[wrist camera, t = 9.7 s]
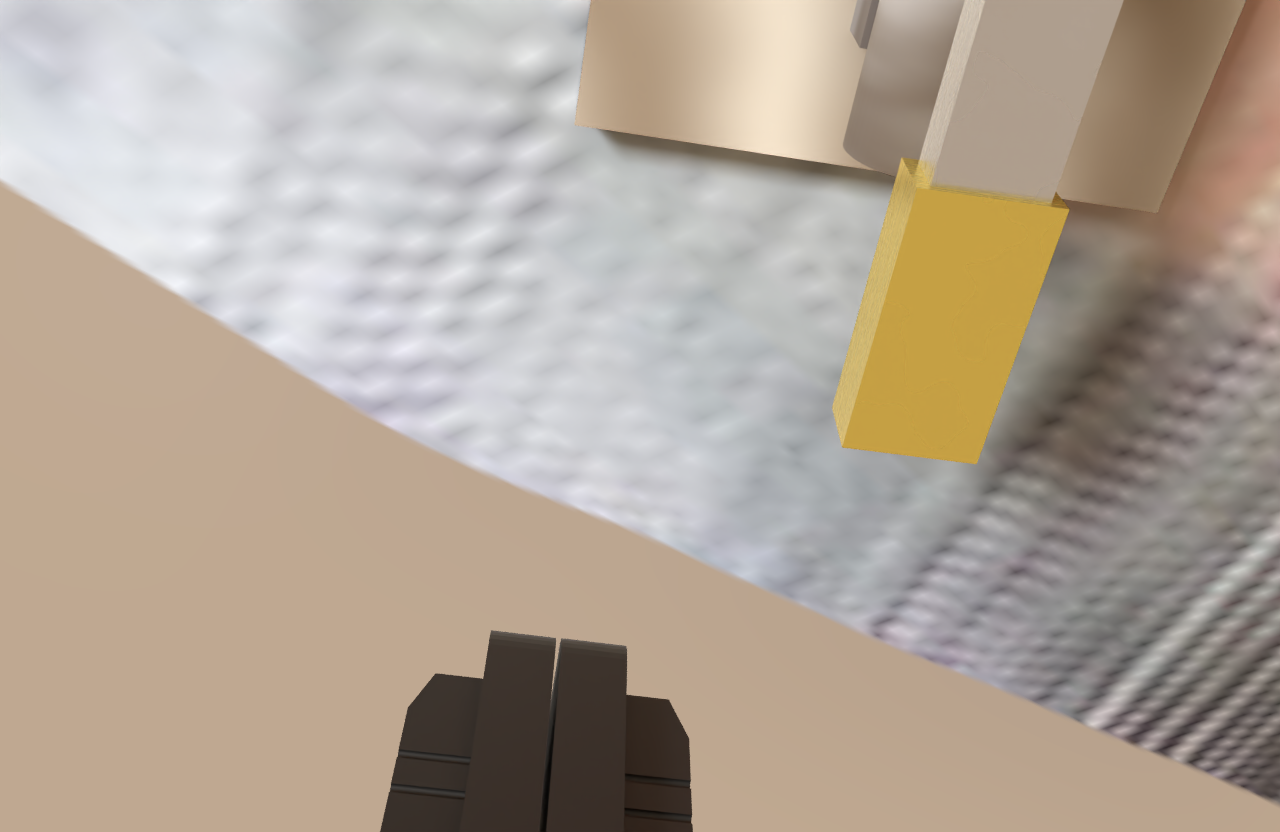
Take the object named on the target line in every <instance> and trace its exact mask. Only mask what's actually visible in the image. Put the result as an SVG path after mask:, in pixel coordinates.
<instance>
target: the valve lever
mask: <svg viewBox="0 0 1280 832" xmlns="http://www.w3.org/2000/svg"><path fill="white" fill-rule="evenodd" d="M1123 1H1124V0H965V1H964V5H963V8H962V12H961V15H960V19H959V22H958V26H957V29H956V33H955V36H954V40H953V43H952V47H951V50H950V54H949V57H948V61H947V64H946V68H945V71H944V75H943V78H942V82H941V85H940V89H939V92H938V96H937V99H936V103H935V106H934V110H933V113H932V117H931V120H930V124H929V127H928V131H927V134H926V138H925V141H924V145H923V148H922V152H921V155H920V159H919V160H917V159H910V158H903V157H902V158H901V162H900V165H899V169H898V173H897V176H896V180H895V183H894V187H893V191H892V194H891V198H890V201H889V205H888V209H887V212H886V216H885V219H884V223H883V227H882V230H881V234H880V237H879V241H878V245H877V248H876V252H875V255H874V259H873V263H872V266H871V270H870V273H869V277H868V281H867V284H866V288H865V291H864V295H863V298H862V302H861V306H860V309H859V313H858V316H857V320H856V324H855V327H854V331H853V334H852V338H851V342H850V345H849V349H848V352H847V356H846V360H845V363H844V367H843V370H842V374H841V378H840V381H839V385H838V388H837V392H836V396H835V399H834V403H833V406H832V409H833V413H834V417H835V421H836V425H837V429H838V433H839V437H840V441H841V445H842V447H843V448H851V449H859V450H867V451H875V452H883V453H891V454H899V455H907V456H915V457H923V458H931V459H939V460H947V461H955V462H963V463H972V464H977V462H978V459H979V456H980V453H981V451H982V448H983V445H984V442H985V440H986V437H987V434H988V431H989V429H990V426H991V423H992V420H993V418H994V415H995V412H996V410H997V407H998V404H999V401H1000V399H1001V396H1002V393H1003V390H1004V388H1005V385H1006V382H1007V379H1008V377H1009V374H1010V371H1011V368H1012V366H1013V363H1014V360H1015V358H1016V355H1017V352H1018V349H1019V347H1020V344H1021V341H1022V338H1023V336H1024V333H1025V330H1026V327H1027V325H1028V322H1029V319H1030V317H1031V314H1032V311H1033V308H1034V306H1035V303H1036V300H1037V297H1038V295H1039V292H1040V289H1041V286H1042V284H1043V281H1044V278H1045V275H1046V273H1047V270H1048V267H1049V265H1050V262H1051V259H1052V256H1053V254H1054V251H1055V248H1056V245H1057V243H1058V240H1059V237H1060V234H1061V232H1062V229H1063V226H1064V224H1065V221H1066V218H1067V215H1068V213H1069V210H1070V209H1069V208H1068V207H1067V205H1066V204H1065V203H1064V201H1063V200H1062V199H1061V198H1060V196H1059V195H1058V194H1057V192H1056V189H1057V186H1058V184H1059V181H1060V178H1061V175H1062V172H1063V170H1064V167H1065V164H1066V161H1067V158H1068V155H1069V153H1070V150H1071V147H1072V144H1073V141H1074V139H1075V136H1076V133H1077V130H1078V127H1079V125H1080V122H1081V119H1082V116H1083V113H1084V111H1085V108H1086V105H1087V102H1088V99H1089V96H1090V94H1091V91H1092V88H1093V85H1094V82H1095V80H1096V77H1097V74H1098V71H1099V68H1100V66H1101V63H1102V60H1103V57H1104V54H1105V51H1106V49H1107V46H1108V43H1109V40H1110V37H1111V35H1112V32H1113V29H1114V26H1115V23H1116V21H1117V18H1118V15H1119V12H1120V9H1121V7H1122V4H1123Z"/></svg>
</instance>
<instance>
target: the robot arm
mask: <svg viewBox="0 0 1280 832" xmlns="http://www.w3.org/2000/svg"><path fill="white" fill-rule="evenodd" d="M555 647H556V638H550V637H543V636H534V635H525V634H516V633H508V632H499V631H491V634H490V639H489V646H488V652H487V658H486V665H485V671H484V678H483V679H480V678H471V677H462V676H453V675H445V674H435V675H434V676H433V677H432V679H431V680H430V681H429V682H428V684H427V685H426V686H425V687H424V689H423V690H422V691H421V692H420V694H419V695H418V696H417V697H416V699H415V700H414V701H413V702H412V703H411V705H410V706H409V707H408V710H407V715H406V719H405V724H404V728H403V733H402V737H401V742H400V746H399V752H398V757H397V759H396V764H395V768H394V773H393V777H392V782H391V788H390V792H389V796H388V800H387V804H386V809H385V813H384V818H383V822H382V826H381V831H380V832H693V828H692V824H691V817H692V804H691V789H690V781H691V779H690V752H689V738H688V736H687V734H686V732H685V730H684V728H683V726H682V724H681V722H680V720H679V719H678V717H677V715H676V713H675V711H674V709H673V707H672V705H671V703H670V701H669V700H667V699H658V698H650V697H641V696H632V695H626V686H627V649H626V646H622V645H613V644H605V643H595V642H587V641H579V640H571V639H561V642H560V648H559V654H558V659H557V666H556V672H555V678H554V684H553V691H552V680H553V670H554V659H555ZM551 692H552V697H551Z"/></svg>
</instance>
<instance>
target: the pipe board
mask: <svg viewBox="0 0 1280 832" xmlns="http://www.w3.org/2000/svg"><path fill="white" fill-rule="evenodd" d="M964 1H965V0H591V4H590V11H589V19H588V27H587V34H586V42H585V49H584V57H583V65H582V72H581V80H580V88H579V95H578V103H577V110H576V118H575V125H578V126H584V127H591V128H598V129H604V130H611V131H617V132H624V133H630V134H637V135H644V136H650V137H657V138H663V139H670V140H677V141H683V142H690V143H696V144H703V145H710V146H716V147H723V148H729V149H736V150H743V151H749V152H756V153H762V154H769V155H775V156H782V157H789V158H795V159H802V160H808V161H815V162H822V163H828V164H835V165H841V166H848V167H855V168H861V169H868V170H874V171H879V172H882V173H885V174H888V175H891V176H894V177H896V176H897V173H898V169H899V165H900V162H901V158H902V157H903V158H910V159H917V160H919V159H920V155H921V152H922V148H923V145H924V141H925V138H926V134H927V131H928V127H929V124H930V120H931V117H932V113H933V110H934V106H935V103H936V99H937V96H938V92H939V89H940V85H941V82H942V78H943V75H944V71H945V68H946V64H947V61H948V57H949V54H950V50H951V47H952V43H953V40H954V36H955V33H956V29H957V26H958V22H959V19H960V15H961V12H962V8H963V5H964ZM1245 2H1246V0H1124V1H1123V4H1122V7H1121V9H1120V12H1119V15H1118V18H1117V21H1116V23H1115V26H1114V29H1113V32H1112V35H1111V37H1110V40H1109V43H1108V46H1107V49H1106V51H1105V54H1104V57H1103V60H1102V63H1101V66H1100V68H1099V71H1098V74H1097V77H1096V80H1095V82H1094V85H1093V88H1092V91H1091V94H1090V96H1089V99H1088V102H1087V105H1086V108H1085V111H1084V113H1083V116H1082V119H1081V122H1080V125H1079V127H1078V130H1077V133H1076V136H1075V139H1074V141H1073V144H1072V147H1071V150H1070V153H1069V155H1068V158H1067V161H1066V164H1065V167H1064V170H1063V172H1062V175H1061V178H1060V181H1059V184H1058V186H1057V189H1056V192H1057V194H1058V195H1059V196H1060V198H1061V199H1065V200H1072V201H1079V202H1085V203H1092V204H1098V205H1105V206H1112V207H1118V208H1125V209H1131V210H1138V211H1145V212H1151V213H1158V210H1159V208H1160V206H1161V203H1162V201H1163V198H1164V196H1165V194H1166V191H1167V189H1168V186H1169V184H1170V182H1171V179H1172V177H1173V174H1174V172H1175V170H1176V167H1177V165H1178V162H1179V160H1180V158H1181V155H1182V153H1183V150H1184V148H1185V146H1186V143H1187V141H1188V138H1189V136H1190V134H1191V131H1192V129H1193V126H1194V124H1195V122H1196V119H1197V117H1198V115H1199V112H1200V110H1201V107H1202V105H1203V103H1204V100H1205V98H1206V95H1207V93H1208V91H1209V88H1210V86H1211V83H1212V81H1213V79H1214V76H1215V74H1216V71H1217V69H1218V67H1219V64H1220V62H1221V59H1222V57H1223V55H1224V52H1225V50H1226V47H1227V45H1228V43H1229V40H1230V38H1231V35H1232V33H1233V31H1234V28H1235V26H1236V23H1237V21H1238V19H1239V16H1240V14H1241V11H1242V9H1243V7H1244V4H1245Z"/></svg>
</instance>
